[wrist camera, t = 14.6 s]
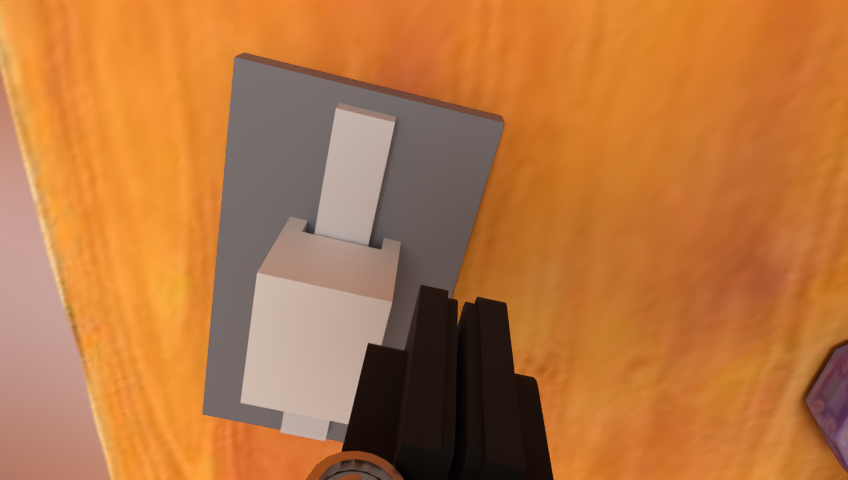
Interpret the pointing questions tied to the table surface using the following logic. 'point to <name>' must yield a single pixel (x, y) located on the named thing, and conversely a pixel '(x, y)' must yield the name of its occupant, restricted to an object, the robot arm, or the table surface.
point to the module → (316, 321)
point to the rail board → (337, 200)
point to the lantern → (833, 404)
